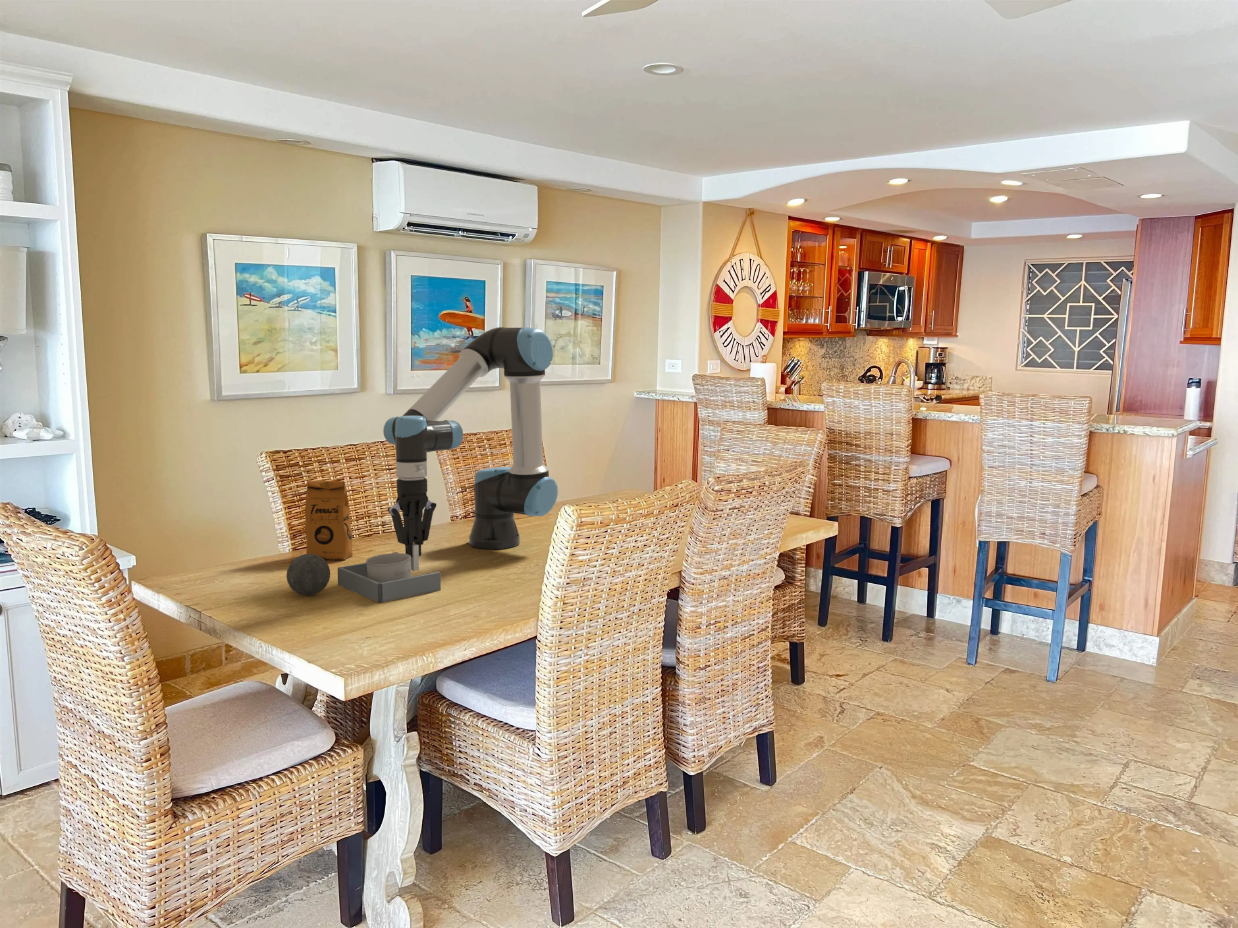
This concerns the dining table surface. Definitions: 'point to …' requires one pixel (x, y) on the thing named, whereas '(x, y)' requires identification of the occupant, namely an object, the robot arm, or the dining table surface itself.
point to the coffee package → (328, 520)
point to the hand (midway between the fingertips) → (413, 569)
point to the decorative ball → (308, 574)
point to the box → (386, 584)
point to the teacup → (389, 567)
